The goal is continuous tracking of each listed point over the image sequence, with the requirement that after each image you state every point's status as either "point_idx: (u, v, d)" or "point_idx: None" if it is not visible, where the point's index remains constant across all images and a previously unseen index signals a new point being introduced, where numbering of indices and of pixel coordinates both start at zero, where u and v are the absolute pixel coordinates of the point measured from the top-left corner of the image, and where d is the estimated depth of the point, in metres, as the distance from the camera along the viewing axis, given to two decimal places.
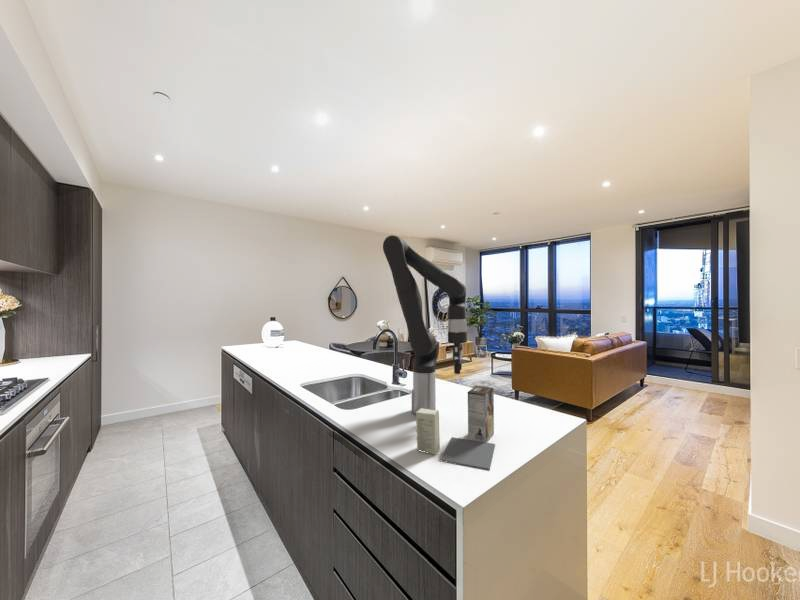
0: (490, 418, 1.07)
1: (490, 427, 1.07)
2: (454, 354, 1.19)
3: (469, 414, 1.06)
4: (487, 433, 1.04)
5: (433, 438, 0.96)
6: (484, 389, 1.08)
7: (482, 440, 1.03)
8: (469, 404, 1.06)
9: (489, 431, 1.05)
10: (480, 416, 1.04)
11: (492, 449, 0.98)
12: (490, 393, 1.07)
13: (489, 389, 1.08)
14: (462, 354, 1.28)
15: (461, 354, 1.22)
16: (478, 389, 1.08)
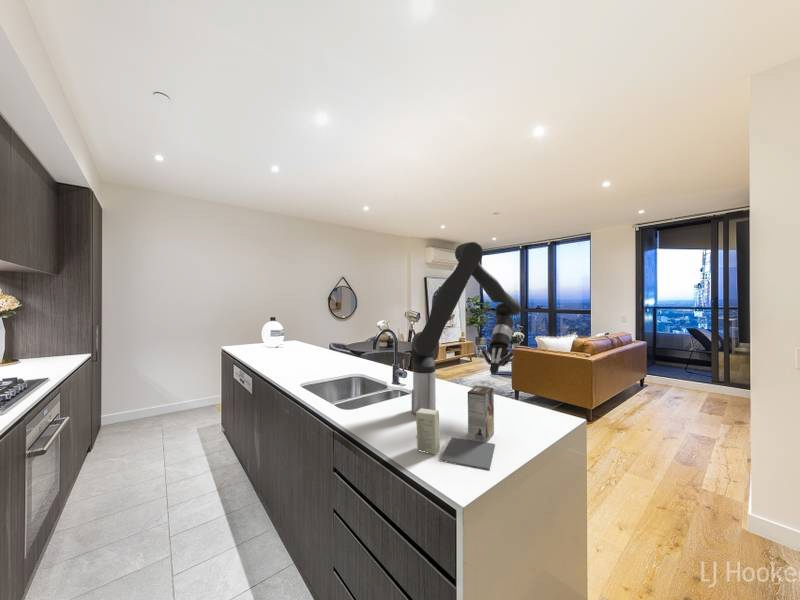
0: (490, 418, 1.07)
1: (490, 427, 1.07)
2: (508, 359, 1.22)
3: (469, 414, 1.06)
4: (487, 433, 1.04)
5: (433, 438, 0.96)
6: (484, 389, 1.08)
7: (482, 440, 1.03)
8: (469, 404, 1.06)
9: (489, 431, 1.05)
10: (480, 416, 1.04)
11: (492, 449, 0.98)
12: (490, 393, 1.07)
13: (489, 389, 1.08)
14: None
15: (501, 360, 1.26)
16: (478, 389, 1.08)
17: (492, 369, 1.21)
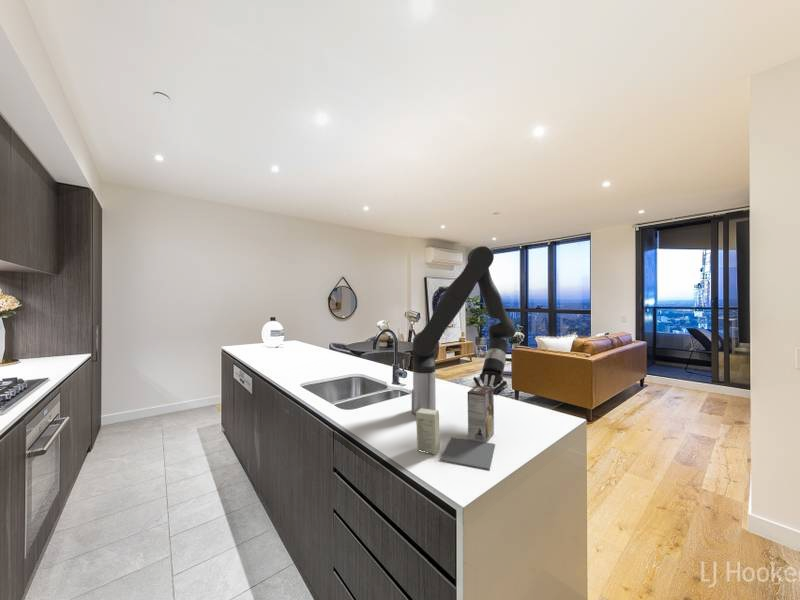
0: (490, 418, 1.07)
1: (490, 427, 1.07)
2: (501, 388, 1.13)
3: (469, 414, 1.06)
4: (487, 433, 1.04)
5: (433, 438, 0.96)
6: (484, 389, 1.08)
7: (482, 440, 1.03)
8: (469, 404, 1.06)
9: (489, 431, 1.05)
10: (480, 416, 1.04)
11: (492, 449, 0.98)
12: (490, 393, 1.07)
13: (489, 389, 1.08)
14: None
15: (494, 388, 1.17)
16: (478, 389, 1.08)
17: None
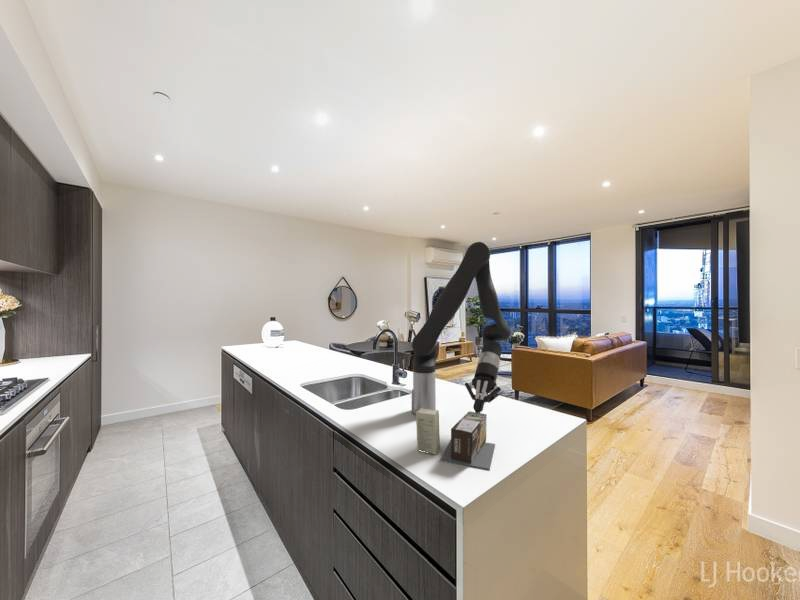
0: (481, 434, 0.97)
1: (483, 432, 1.00)
2: (495, 394, 1.05)
3: None
4: (484, 440, 1.01)
5: (433, 438, 0.96)
6: (464, 443, 0.90)
7: None
8: None
9: (484, 435, 1.01)
10: None
11: (492, 449, 0.98)
12: (472, 445, 0.90)
13: (469, 441, 0.90)
14: None
15: (487, 394, 1.09)
16: (458, 445, 0.91)
17: (476, 407, 1.04)
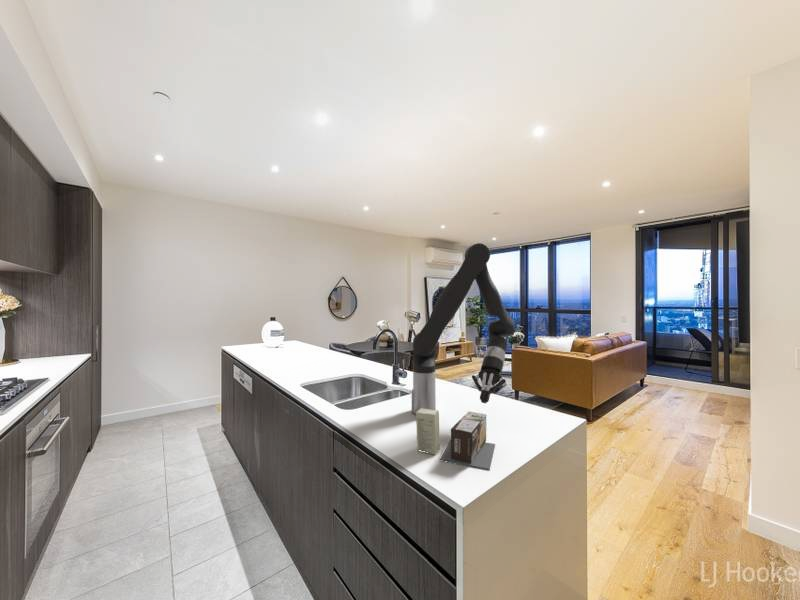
0: (481, 434, 0.97)
1: (483, 432, 1.00)
2: (500, 386, 1.12)
3: None
4: (484, 440, 1.01)
5: (433, 438, 0.96)
6: (464, 443, 0.90)
7: None
8: None
9: (484, 435, 1.01)
10: None
11: (492, 449, 0.98)
12: (472, 445, 0.90)
13: (469, 441, 0.90)
14: None
15: None
16: (458, 445, 0.91)
17: (482, 397, 1.11)
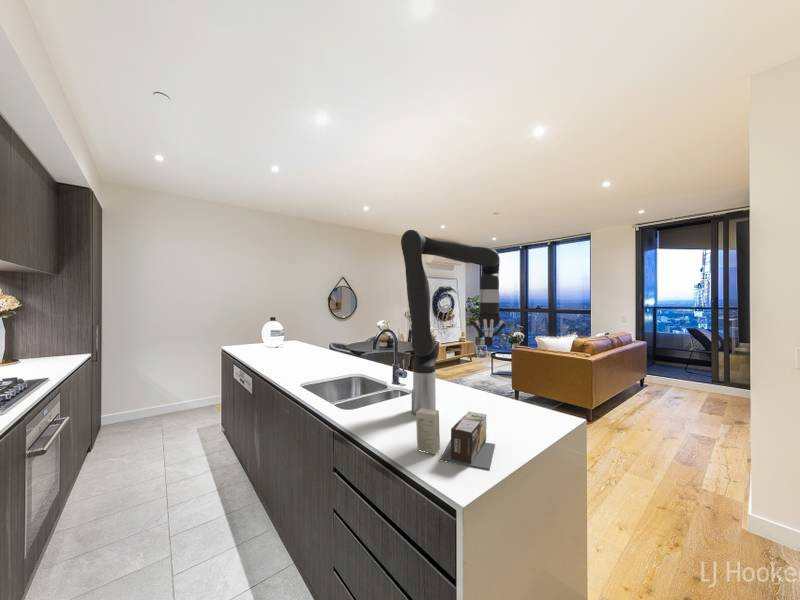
0: (481, 434, 0.97)
1: (483, 432, 1.00)
2: None
3: None
4: (484, 440, 1.01)
5: (433, 438, 0.96)
6: (464, 443, 0.90)
7: None
8: None
9: (484, 435, 1.01)
10: None
11: (492, 449, 0.98)
12: (472, 445, 0.90)
13: (469, 441, 0.90)
14: None
15: None
16: (458, 445, 0.91)
17: (487, 344, 1.21)
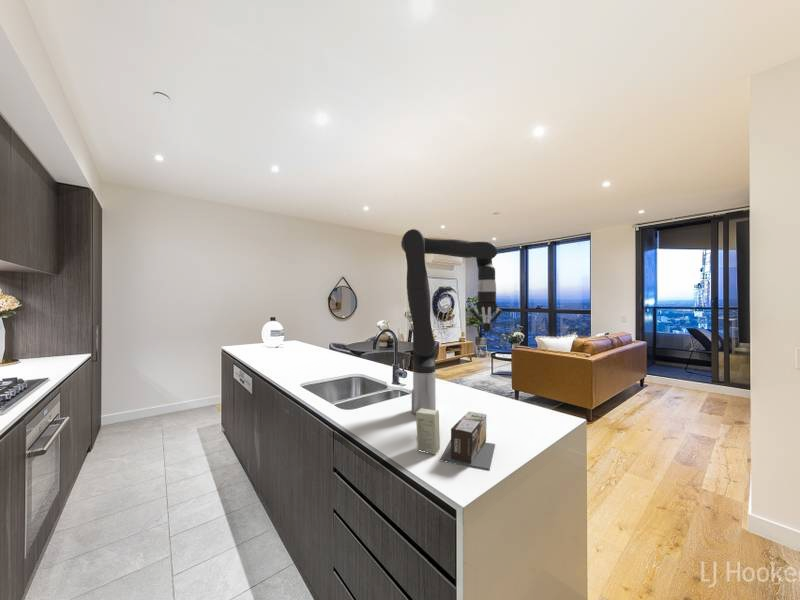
0: (481, 434, 0.97)
1: (483, 432, 1.00)
2: (498, 316, 1.31)
3: None
4: (484, 440, 1.01)
5: (433, 438, 0.96)
6: (464, 443, 0.90)
7: None
8: None
9: (484, 435, 1.01)
10: None
11: (492, 449, 0.98)
12: (472, 445, 0.90)
13: (469, 441, 0.90)
14: None
15: None
16: (458, 445, 0.91)
17: (486, 330, 1.33)
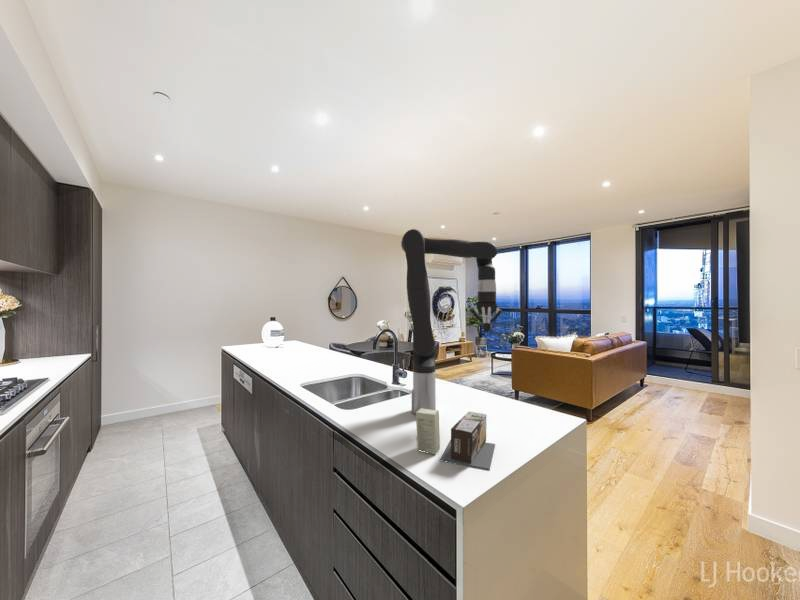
0: (481, 434, 0.97)
1: (483, 432, 1.00)
2: (498, 316, 1.31)
3: None
4: (484, 440, 1.01)
5: (433, 438, 0.96)
6: (464, 443, 0.90)
7: None
8: None
9: (484, 435, 1.01)
10: None
11: (492, 449, 0.98)
12: (472, 445, 0.90)
13: (469, 441, 0.90)
14: None
15: None
16: (458, 445, 0.91)
17: (486, 330, 1.33)
